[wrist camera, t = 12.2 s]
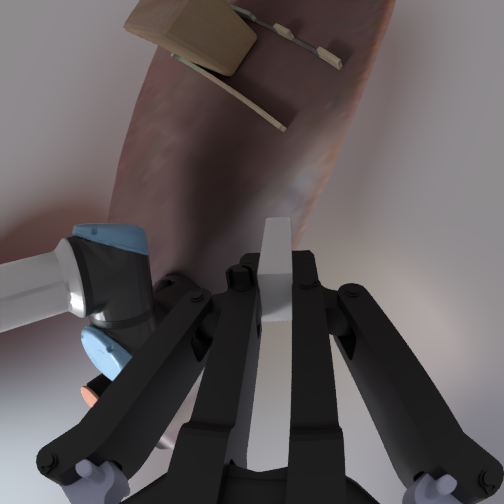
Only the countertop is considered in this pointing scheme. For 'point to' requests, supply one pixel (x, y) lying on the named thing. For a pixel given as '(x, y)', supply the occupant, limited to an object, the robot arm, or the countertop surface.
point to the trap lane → (280, 30)
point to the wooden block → (195, 31)
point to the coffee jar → (95, 389)
